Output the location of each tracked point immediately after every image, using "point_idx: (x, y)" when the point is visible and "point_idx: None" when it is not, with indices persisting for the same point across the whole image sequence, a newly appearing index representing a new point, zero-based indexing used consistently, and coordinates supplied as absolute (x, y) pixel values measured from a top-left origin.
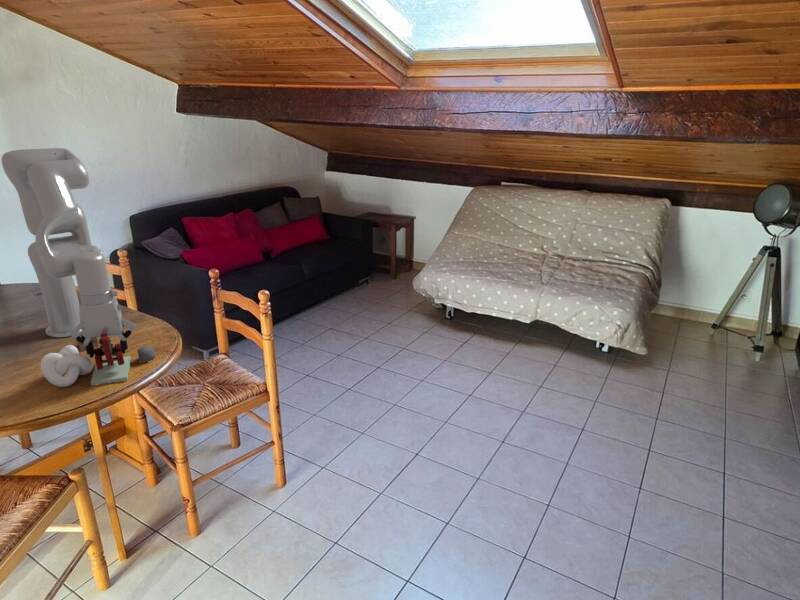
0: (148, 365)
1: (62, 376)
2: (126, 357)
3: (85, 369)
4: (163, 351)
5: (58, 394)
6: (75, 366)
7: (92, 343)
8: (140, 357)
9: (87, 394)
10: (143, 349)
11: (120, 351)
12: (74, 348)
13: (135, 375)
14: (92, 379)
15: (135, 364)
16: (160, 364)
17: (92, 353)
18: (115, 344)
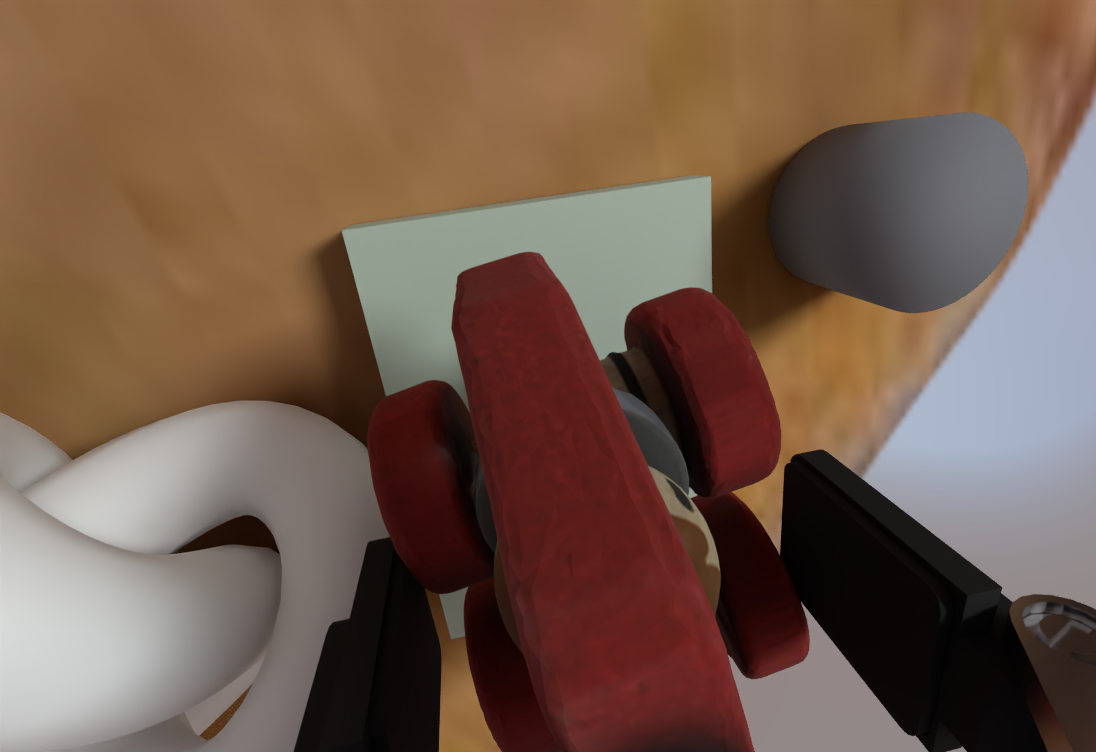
0: (846, 336)
1: (185, 711)
2: (669, 211)
3: None
4: (1007, 28)
5: (243, 700)
6: (254, 662)
7: (391, 692)
8: (827, 282)
9: (464, 698)
10: (920, 213)
11: (801, 644)
12: (52, 699)
13: (749, 488)
14: (451, 605)
15: (738, 299)
16: (939, 332)
17: (436, 691)
18: (709, 425)
